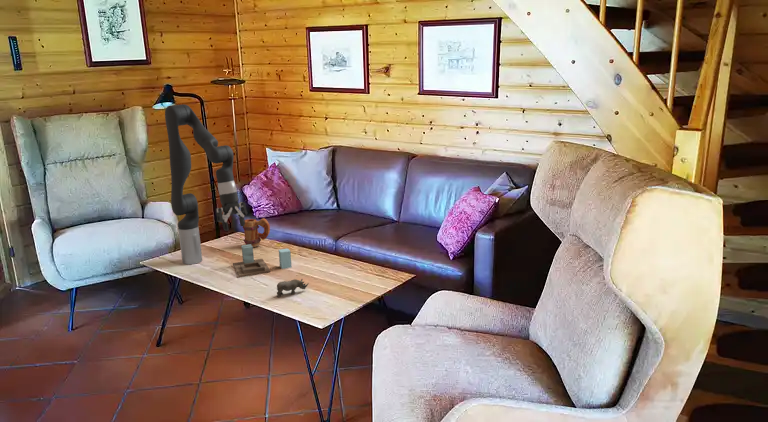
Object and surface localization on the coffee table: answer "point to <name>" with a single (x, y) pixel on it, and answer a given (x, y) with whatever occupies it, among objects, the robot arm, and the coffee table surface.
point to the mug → (255, 231)
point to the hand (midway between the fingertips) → (234, 228)
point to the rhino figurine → (290, 286)
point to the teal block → (285, 258)
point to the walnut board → (250, 263)
